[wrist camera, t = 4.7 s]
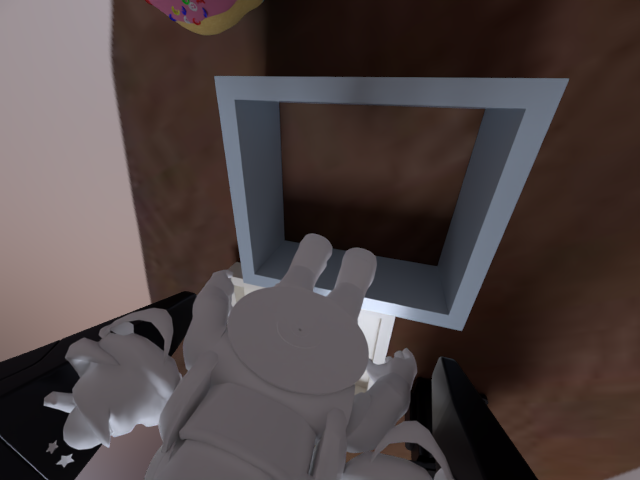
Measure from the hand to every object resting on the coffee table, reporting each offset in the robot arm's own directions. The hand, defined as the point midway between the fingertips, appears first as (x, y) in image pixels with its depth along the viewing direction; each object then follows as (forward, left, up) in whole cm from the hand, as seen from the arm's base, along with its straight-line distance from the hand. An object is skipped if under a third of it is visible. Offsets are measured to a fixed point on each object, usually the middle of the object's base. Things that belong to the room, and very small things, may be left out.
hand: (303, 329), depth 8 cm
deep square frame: (0, -1, -13) cm, 13 cm away
